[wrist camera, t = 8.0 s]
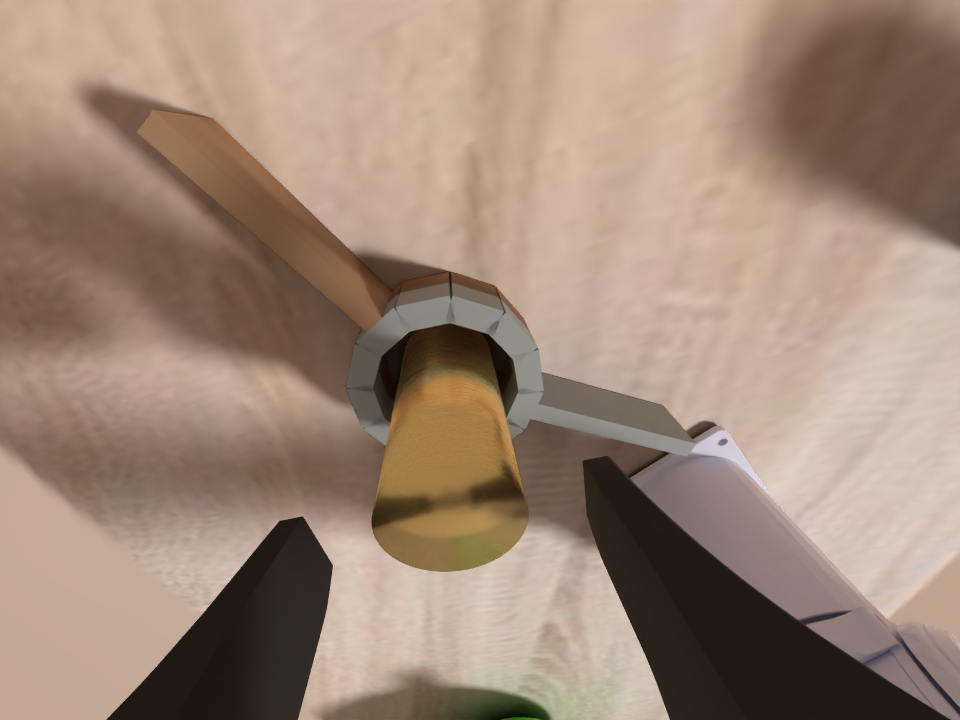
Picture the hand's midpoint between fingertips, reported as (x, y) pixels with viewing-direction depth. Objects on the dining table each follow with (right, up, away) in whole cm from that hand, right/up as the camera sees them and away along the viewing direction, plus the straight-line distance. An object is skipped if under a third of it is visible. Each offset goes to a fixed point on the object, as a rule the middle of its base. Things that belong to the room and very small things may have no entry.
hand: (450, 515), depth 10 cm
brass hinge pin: (-1, +4, +8) cm, 9 cm away
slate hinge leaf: (+2, +3, +9) cm, 10 cm away
